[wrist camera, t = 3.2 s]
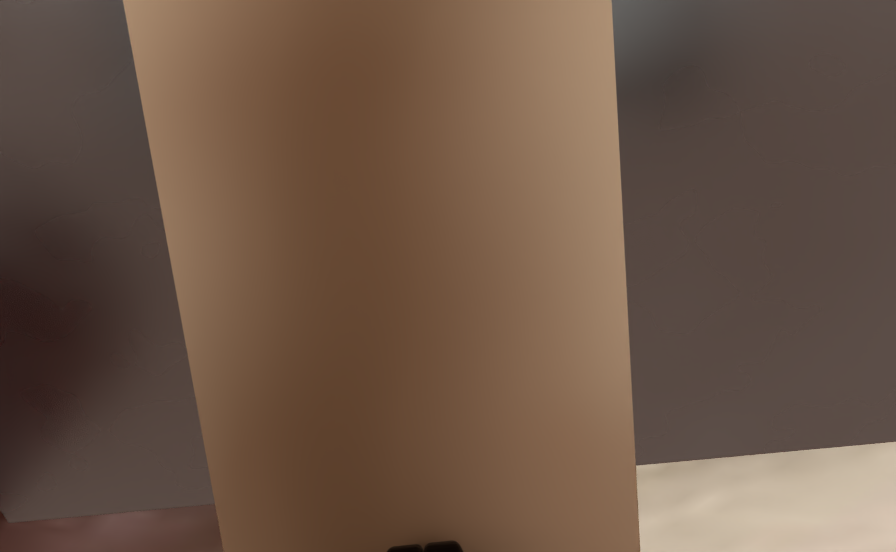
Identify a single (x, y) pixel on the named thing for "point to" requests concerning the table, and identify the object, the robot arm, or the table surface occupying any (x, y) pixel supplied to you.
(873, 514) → the table surface
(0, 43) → the mounting plate
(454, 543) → the robot arm
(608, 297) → the lever
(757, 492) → the table surface
